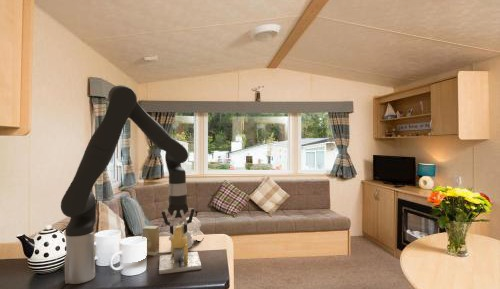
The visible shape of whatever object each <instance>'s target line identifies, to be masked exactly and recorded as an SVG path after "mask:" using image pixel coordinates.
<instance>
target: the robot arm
mask: <svg viewBox="0 0 500 289" xmlns="http://www.w3.org/2000/svg"><path fill="white" fill-rule="evenodd" d="M137 97H138V96H137V94H136V92H135V91H134V89H132V88H131V87H129V86H126V85H119V84H118V85H116V86H113V87H112V88H110V89H109V91H108V95H107V98H108V99H107V100H108V105H107V109H106V111H105V114H104V116H103V118H102V120H101V122H100V124H99V125H98V127H97V128H96V129H95V131H94V132H93V134H92V136H91V137H90V139H89V140H88V143H87V146H86V148H85V150H84V153H83V155H82V158H81V160H80V163H79V164H78V167H77V170H76V172H75V174H74V177H73V178H72V181H71V183H70V185H69V186H68V187H67V190H66V191H65V193H64V194H63V197H62V198H61V202H60V210H61V213H63V215H64V216H66V217H68V218H70V219H69V222H68V224H67V226H66V228H65V250H66V251H65V252H66V255H65V256H64V280H65V281H64V282H65V284H71V285H76V284H83V283H87V282H89V281H92V280H93V279H94V278H95V277H96V260H95V259H96V258H95V257H96V256H95V255H96V254H95V253H96V251H95V225H96V219H97V216H96V215H97V213H96V212H97V202H96V197H95V194H94V193H93V192H92V189H93V187H94V185H95V183H96V181H98V179H99V178H100V177H101V175H102V174H103V173H104V171H105V170H106V169H107V168H108V166H109V164H110V163H111V160H112V158H113V155H114V154H115V151H116V148H117V146H118V143H119V140H120V138H121V135H122V132H123V129H124V126H125V125H126V122H127V120H128V119H129V120H131V121H132V122H133V123H134V124H135V125H136V126H137V127H138V128H139V129H140V131H141V132H142V133H143V134H144V135H145V136H146V137H147V138H148V139H149V141H151V142H152V144H154V146H156V148H158V149H159V150H162V151H164V152H165V155H164V156H165V158H164V159H165V165H166V168H167V171H168V172H167V173H168V208H167V209H165V210H164V209H163V210H162V211H161V215H162V219H163V221H164V223H165V225H166V226H169V234H170V233H172V235H173V229H174V222H175V219H178V218H182V222H183V221H184V234H185V233H186V232H187V224H188V223H191V222H192V218H193V217H194V213H195V208H194V207H189V206H188V198H187V196H188V195H187V194H188V191H187V182H186V181H187V179H186V177H187V176H186V170H185V169H184V168H182V164H183V163H186V161H187V160H188V158H189V153H188V150H187V148H186V147H185V146H184V145H183V144H181V143H180V142H179V141H178V140H177V139H175V138H173V137H172V136H171V135H170V134H169V133H168V132H167V130H166V129H165V128H164V127H163V126H162V125H161V124H160V123H159V122H157V121H156V120H155V119H154V118H153V116H151V115H150V114H148V113H147V112H146V110H145V109H144V108H143V107H142V106H141V105H140V103H139V102H138V98H137ZM187 212H188V213H189V215H188V217H189V219H188V220H186V218H187V217H186V214H187ZM168 214H170V215H171V218H170V221H169V219H168V217H167V215H168Z"/></svg>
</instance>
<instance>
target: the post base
mask: <svg viewBox="0 0 500 289" xmlns="http://www.w3.org/2000/svg"><path fill="white" fill-rule="evenodd" d="M170 249H171V252H170V254H162V255H159V263H158V264H159V265H158V268H159V269H158V275H164V274H172V273H180V272H181V273H182V272H187V271H188V272H189V271H197V270H201V269H202V262H201V260H200V256H199V253H198V251H189V249H188V244H184V247H182V248H173V247H170Z"/></svg>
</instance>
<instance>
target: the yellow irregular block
mask: <svg viewBox="0 0 500 289" xmlns="http://www.w3.org/2000/svg"><path fill="white" fill-rule="evenodd" d="M174 229H175V231H174V237H172V238H171V241H170V246H171V247H173V248H182V247H184V244H187V237H186V236H183V235H184V224H182V223H179V224H177V225H176V227H175V228H174ZM171 247H170V248H171Z"/></svg>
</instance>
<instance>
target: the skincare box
mask: <svg viewBox="0 0 500 289" xmlns="http://www.w3.org/2000/svg"><path fill="white" fill-rule="evenodd" d="M143 237H146V238H147V255H146V256H157V255H158V254H159V253H160V226H158V225H145V226H144V227H142V238H143Z"/></svg>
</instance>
